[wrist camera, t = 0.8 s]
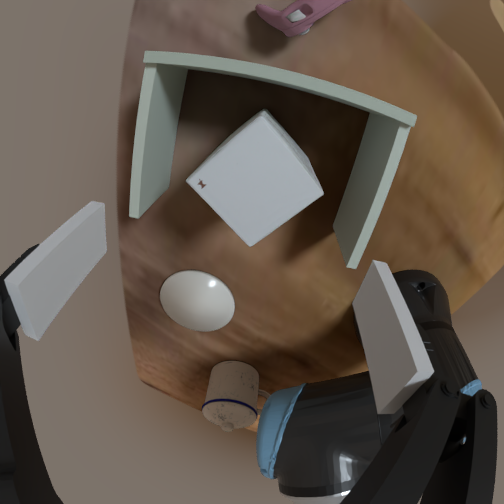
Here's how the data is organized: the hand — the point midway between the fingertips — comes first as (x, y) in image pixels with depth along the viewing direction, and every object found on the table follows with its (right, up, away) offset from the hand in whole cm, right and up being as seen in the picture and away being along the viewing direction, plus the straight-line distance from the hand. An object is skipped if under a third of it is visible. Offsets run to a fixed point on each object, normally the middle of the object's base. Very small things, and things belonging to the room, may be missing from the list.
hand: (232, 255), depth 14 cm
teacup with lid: (-1, -22, +37) cm, 44 cm away
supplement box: (+2, +11, +18) cm, 21 cm away
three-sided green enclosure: (+2, +12, +17) cm, 21 cm away
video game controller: (+6, +26, +9) cm, 28 cm away
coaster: (-7, -7, +29) cm, 31 cm away
